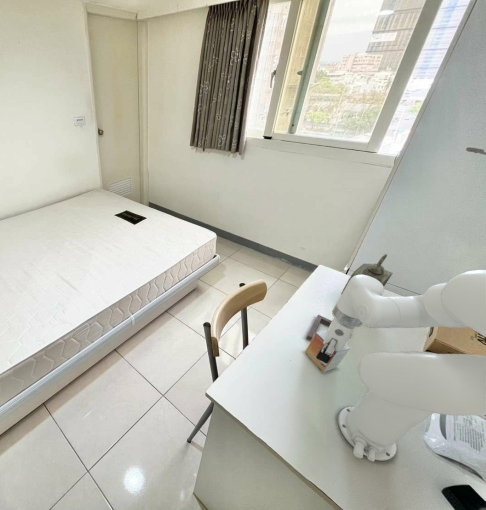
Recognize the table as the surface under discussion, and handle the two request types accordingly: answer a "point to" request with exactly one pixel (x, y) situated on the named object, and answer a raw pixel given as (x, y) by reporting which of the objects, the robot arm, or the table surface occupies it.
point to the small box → (318, 345)
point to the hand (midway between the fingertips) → (325, 351)
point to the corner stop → (315, 325)
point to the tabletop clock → (373, 272)
